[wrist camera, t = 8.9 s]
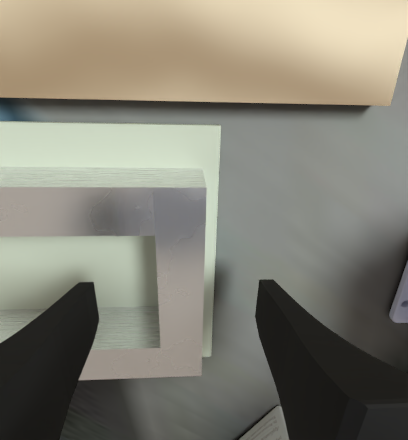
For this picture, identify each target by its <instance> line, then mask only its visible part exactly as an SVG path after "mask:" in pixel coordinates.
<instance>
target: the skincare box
mask: <svg viewBox="0 0 408 440" xmlns="http://www.w3.org/2000/svg"><path fill="white" fill-rule="evenodd" d="M239 440H289V437H288V433H287V428H286V424H285V419H284V415H283V411H282V407H281V406H276V407H275V408H274V409H273V410H272V411H271V412H270V413H268V414H267V415H266V416H265V417H264V418H263V419H262V420H261V421H259V422H258V423H257V424H256V425H255V426H254V427H253V428H251V429H250V430H249V431H248V432H247V433H246V434H245V435H243V436H242V437H241V438H240V439H239Z"/></svg>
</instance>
